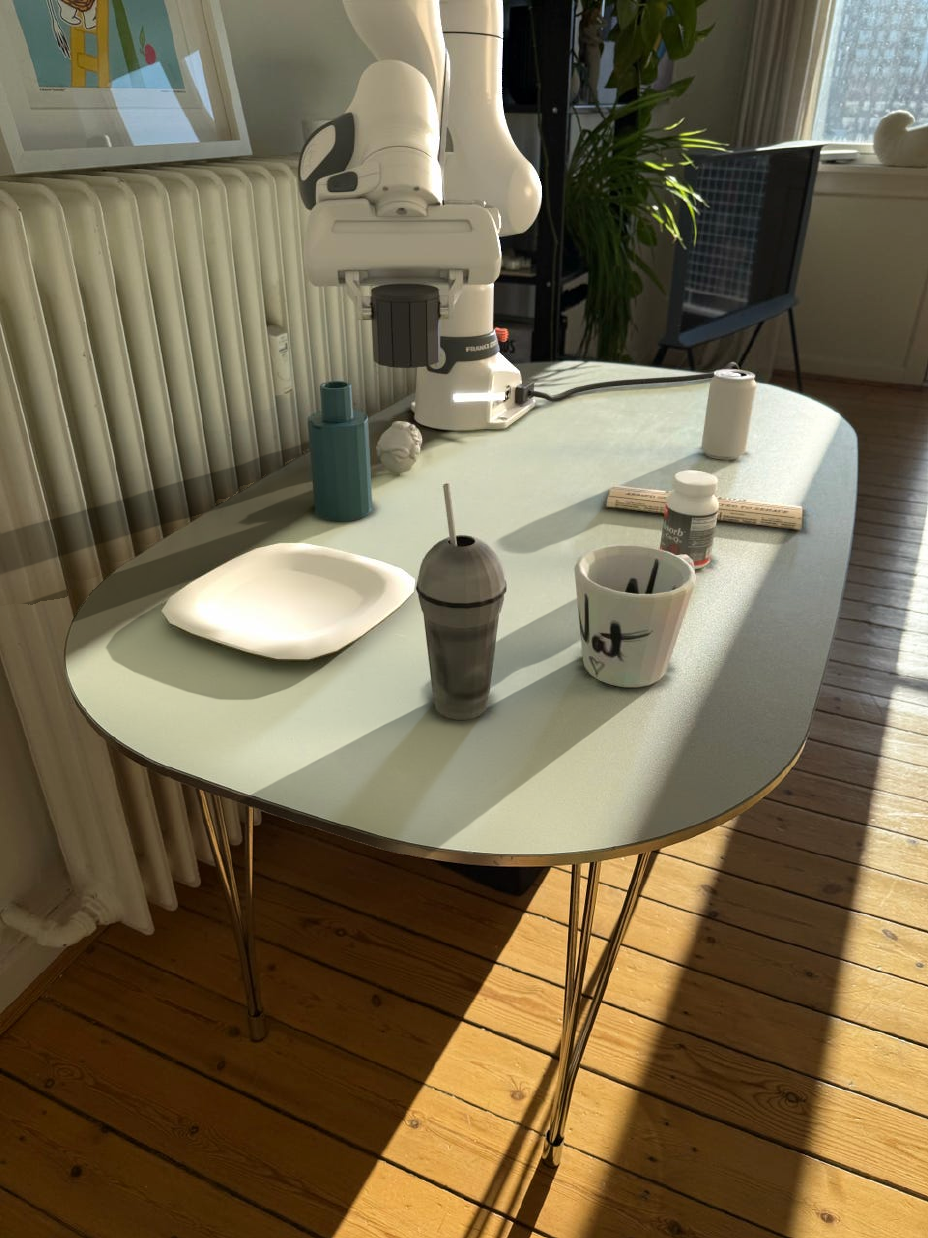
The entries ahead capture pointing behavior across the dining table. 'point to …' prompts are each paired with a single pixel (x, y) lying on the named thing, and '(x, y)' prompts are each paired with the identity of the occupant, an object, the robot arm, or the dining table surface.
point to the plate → (290, 601)
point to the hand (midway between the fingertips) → (405, 316)
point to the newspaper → (726, 512)
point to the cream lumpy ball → (399, 447)
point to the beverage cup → (460, 618)
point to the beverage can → (728, 413)
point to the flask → (340, 456)
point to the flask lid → (405, 325)
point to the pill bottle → (691, 516)
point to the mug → (631, 611)
